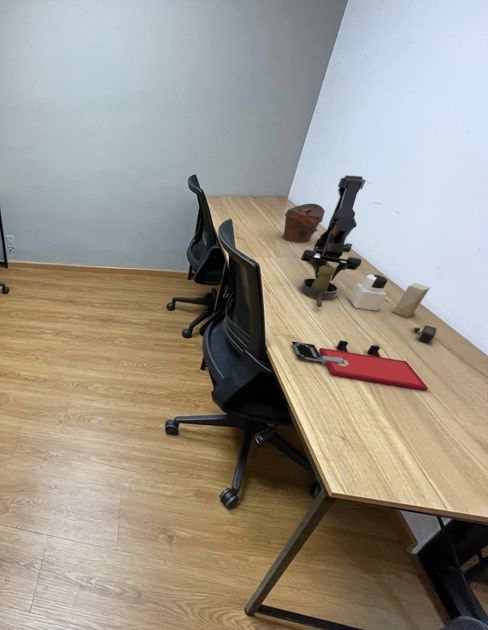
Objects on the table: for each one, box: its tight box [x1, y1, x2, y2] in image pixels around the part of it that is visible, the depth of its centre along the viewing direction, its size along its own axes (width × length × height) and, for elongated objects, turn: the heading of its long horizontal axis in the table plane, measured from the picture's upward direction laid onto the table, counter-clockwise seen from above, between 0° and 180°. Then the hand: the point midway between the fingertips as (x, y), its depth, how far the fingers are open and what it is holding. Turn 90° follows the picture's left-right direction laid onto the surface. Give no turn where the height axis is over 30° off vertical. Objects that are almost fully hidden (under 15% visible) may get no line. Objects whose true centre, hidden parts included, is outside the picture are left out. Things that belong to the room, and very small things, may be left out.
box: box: [393, 282, 431, 318], centre depth 121 cm, size 5×4×11 cm
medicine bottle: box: [349, 273, 388, 312], centre depth 126 cm, size 7×7×12 cm
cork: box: [310, 265, 336, 292], centre depth 135 cm, size 6×6×11 cm
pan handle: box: [316, 291, 323, 308], centre depth 128 cm, size 12×2×2 cm, turn 147°
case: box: [283, 203, 326, 243], centre depth 186 cm, size 18×20×18 cm
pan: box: [299, 277, 340, 301], centre depth 137 cm, size 12×12×4 cm
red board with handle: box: [291, 340, 429, 391], centre depth 100 cm, size 30×3×15 cm
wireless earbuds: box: [413, 324, 438, 344], centre depth 111 cm, size 5×7×3 cm, turn 133°
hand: (323, 278), depth 133 cm, fingers closed on cork, 5 cm apart
